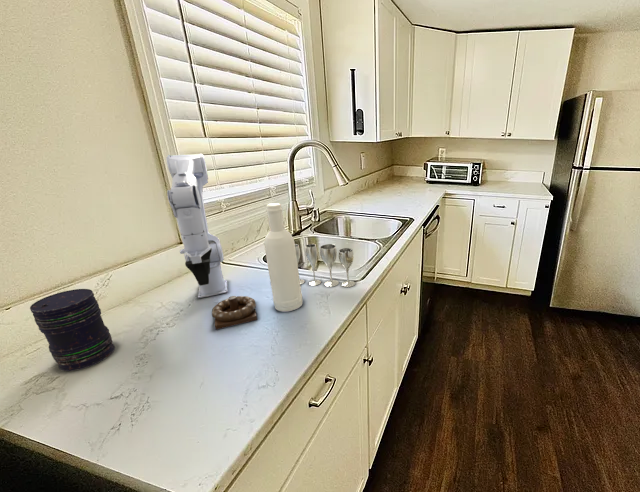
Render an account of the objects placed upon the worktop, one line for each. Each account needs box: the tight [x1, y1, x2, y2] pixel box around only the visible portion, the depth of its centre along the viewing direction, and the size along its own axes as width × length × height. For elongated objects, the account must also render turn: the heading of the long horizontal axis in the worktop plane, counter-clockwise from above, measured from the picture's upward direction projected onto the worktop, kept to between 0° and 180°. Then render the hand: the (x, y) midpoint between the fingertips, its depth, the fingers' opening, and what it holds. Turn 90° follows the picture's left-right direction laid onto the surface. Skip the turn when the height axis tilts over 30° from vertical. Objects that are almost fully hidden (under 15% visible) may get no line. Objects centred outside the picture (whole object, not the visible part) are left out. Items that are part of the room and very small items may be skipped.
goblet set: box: [295, 243, 356, 288], centre depth 106 cm, size 28×6×13 cm, turn 84°
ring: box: [211, 295, 257, 321], centre depth 89 cm, size 11×11×2 cm
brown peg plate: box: [214, 295, 258, 331], centre depth 89 cm, size 10×10×6 cm
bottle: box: [263, 202, 304, 313], centre depth 90 cm, size 8×8×30 cm
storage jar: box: [29, 288, 116, 372], centre depth 72 cm, size 10×10×15 cm
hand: (205, 279), depth 90 cm, fingers open, 7 cm apart
